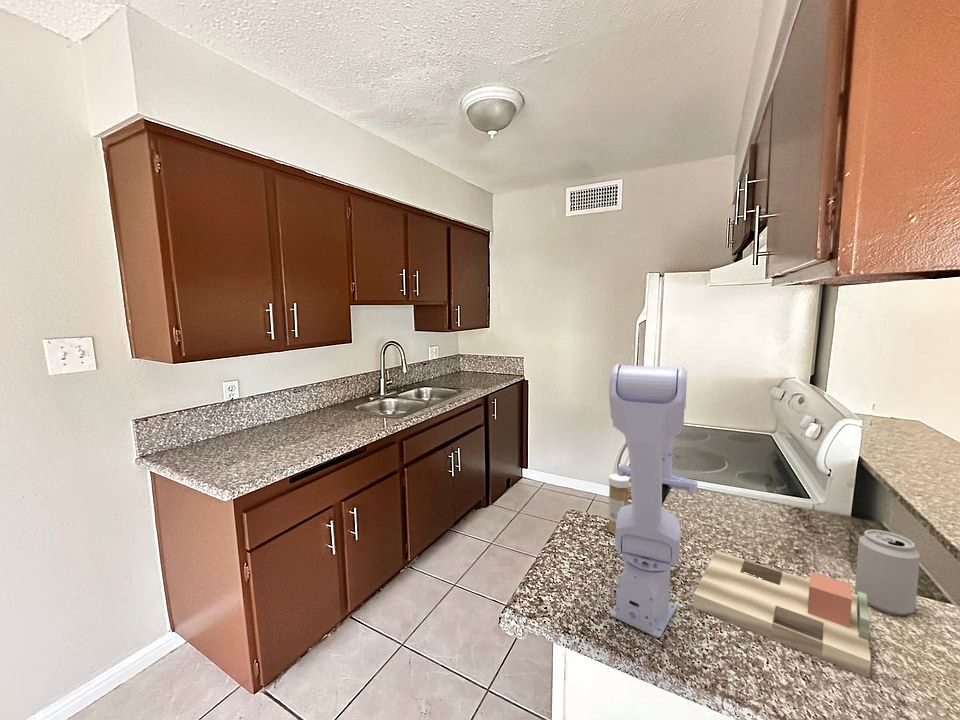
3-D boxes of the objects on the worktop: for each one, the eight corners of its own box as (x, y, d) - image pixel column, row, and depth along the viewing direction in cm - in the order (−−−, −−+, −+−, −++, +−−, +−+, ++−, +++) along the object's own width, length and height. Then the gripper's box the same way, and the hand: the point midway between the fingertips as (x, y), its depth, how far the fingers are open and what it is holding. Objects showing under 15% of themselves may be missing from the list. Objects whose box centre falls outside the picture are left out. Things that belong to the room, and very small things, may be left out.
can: (901, 623, 67) (907, 552, 66) (845, 596, 74) (850, 531, 73) (923, 611, 70) (929, 543, 69) (868, 585, 77) (873, 523, 76)
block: (849, 627, 62) (851, 599, 62) (807, 613, 65) (809, 586, 65) (848, 610, 66) (850, 584, 66) (808, 597, 69) (810, 572, 69)
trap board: (869, 678, 56) (872, 640, 56) (692, 607, 70) (694, 576, 70) (861, 610, 70) (864, 579, 69) (715, 562, 84) (716, 536, 84)
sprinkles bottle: (632, 534, 96) (634, 477, 94) (619, 539, 93) (621, 481, 92) (615, 526, 99) (617, 471, 98) (603, 531, 97) (604, 475, 96)
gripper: (702, 454, 79) (699, 522, 80) (627, 440, 88) (625, 502, 89) (692, 463, 74) (689, 536, 75) (614, 447, 83) (612, 512, 84)
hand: (654, 518), depth 82 cm, fingers closed
